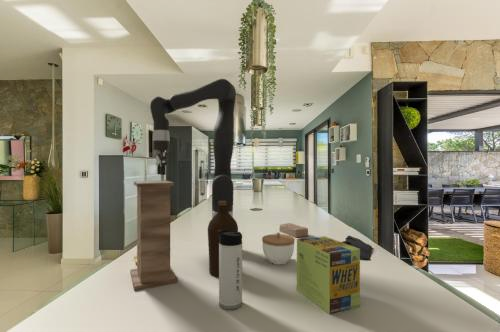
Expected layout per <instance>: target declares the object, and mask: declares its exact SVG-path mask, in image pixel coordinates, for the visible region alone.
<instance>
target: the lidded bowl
mask: <svg viewBox="0 0 500 332" xmlns="http://www.w3.org/2000/svg"><path fill="white" fill-rule="evenodd" d="M261 239H262V251H263V254H264V257H265V258H266V259H267V260H268V262H269V263H270V264H272V263H273V265H285V264H287V263H288V262H289V261H290V260H291V258H293V255H294V251H295V242H296V241H295V237H293V236H290V235H288V234H284V233H283V234H281V232H277V233H274V234H273V233H272V234H267V235H263V236H262V238H261Z"/></svg>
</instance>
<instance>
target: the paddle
mask: <svg viewBox="0 0 500 332" xmlns="http://www.w3.org/2000/svg"><path fill="white" fill-rule="evenodd" d="M133 259H134V262H135V266H137V253H134V254H133Z"/></svg>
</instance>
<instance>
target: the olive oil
mask: <svg viewBox="0 0 500 332" xmlns="http://www.w3.org/2000/svg"><path fill="white" fill-rule="evenodd" d="M218 203H219V205H218V213H217V214H216V215H215V216H214V217H213V218H212V217H211V219H210V221H208V226H207V243H208V244H207V245H208V265H209V267H208V268H209V269H208V271H209V274H210V275H211V276H213V277H216V278H219V237H220V234H218V230H234V231H238V232H239V227H238V226H239V225H238V222H237V220H236V219H235V218H234V216H233V217H232V216H231V215H230V214H229V213H228V205H227V201H218Z"/></svg>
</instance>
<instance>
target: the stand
mask: <svg viewBox="0 0 500 332" xmlns="http://www.w3.org/2000/svg"><path fill="white" fill-rule="evenodd" d="M133 185H135V186H136V254H137V265H136V268H133V269H130V278H131V282H132V286H133V291H134V292H135V291H139V290H140V291H141V290H145V289H151V288H156V287H160V286H166V285H170V284H175V283H179V279H178V276H177V275H176V273H175V272H174V270H173V268H172V267H171V187H173V186H175V182H173V181H170V180H141V181H139V180H135V181H133Z"/></svg>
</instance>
